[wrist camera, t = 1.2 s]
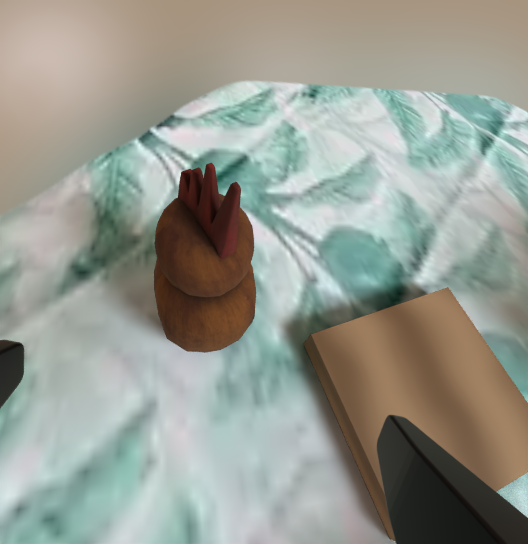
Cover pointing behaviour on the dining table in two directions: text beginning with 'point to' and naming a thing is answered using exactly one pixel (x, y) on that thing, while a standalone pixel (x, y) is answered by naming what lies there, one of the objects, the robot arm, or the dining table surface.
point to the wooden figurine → (204, 265)
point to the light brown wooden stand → (423, 389)
